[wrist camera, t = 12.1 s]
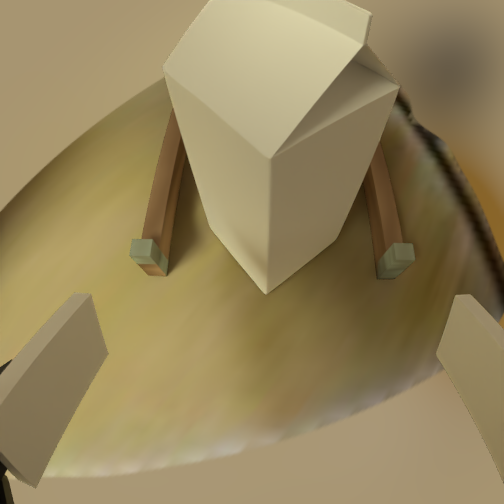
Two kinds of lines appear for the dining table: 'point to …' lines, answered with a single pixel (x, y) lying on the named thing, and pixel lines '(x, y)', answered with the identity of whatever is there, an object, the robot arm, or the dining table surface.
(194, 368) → the dining table surface
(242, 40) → the milk carton
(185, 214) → the dining table surface
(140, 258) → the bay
